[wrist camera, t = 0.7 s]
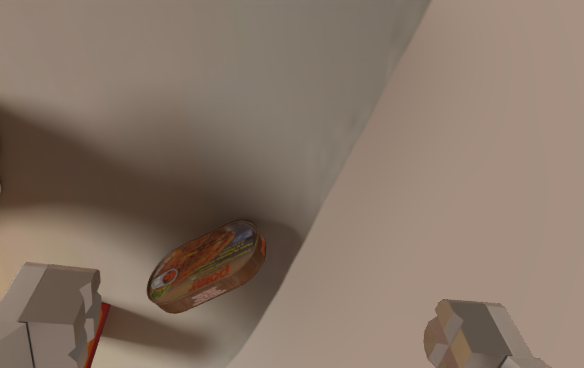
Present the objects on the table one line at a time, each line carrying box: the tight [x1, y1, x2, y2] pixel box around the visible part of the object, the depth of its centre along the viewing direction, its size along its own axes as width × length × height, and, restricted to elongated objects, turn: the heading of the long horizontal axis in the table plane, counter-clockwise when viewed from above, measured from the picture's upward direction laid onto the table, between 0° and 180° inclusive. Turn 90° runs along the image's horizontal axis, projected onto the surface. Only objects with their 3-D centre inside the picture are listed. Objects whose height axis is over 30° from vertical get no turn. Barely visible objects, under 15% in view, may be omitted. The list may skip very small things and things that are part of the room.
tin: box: [147, 221, 266, 314], centre depth 55 cm, size 15×3×8 cm, turn 117°
